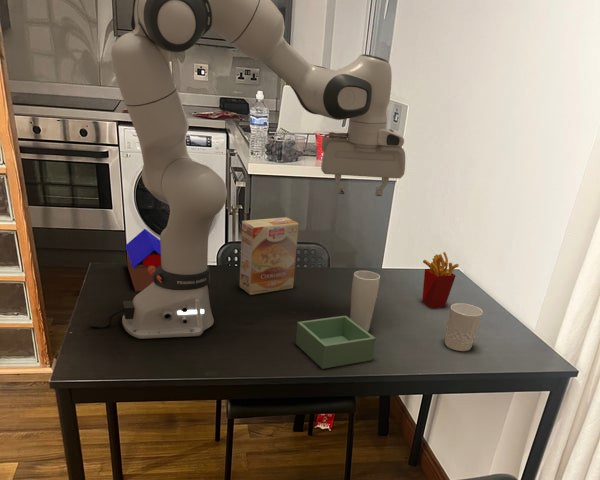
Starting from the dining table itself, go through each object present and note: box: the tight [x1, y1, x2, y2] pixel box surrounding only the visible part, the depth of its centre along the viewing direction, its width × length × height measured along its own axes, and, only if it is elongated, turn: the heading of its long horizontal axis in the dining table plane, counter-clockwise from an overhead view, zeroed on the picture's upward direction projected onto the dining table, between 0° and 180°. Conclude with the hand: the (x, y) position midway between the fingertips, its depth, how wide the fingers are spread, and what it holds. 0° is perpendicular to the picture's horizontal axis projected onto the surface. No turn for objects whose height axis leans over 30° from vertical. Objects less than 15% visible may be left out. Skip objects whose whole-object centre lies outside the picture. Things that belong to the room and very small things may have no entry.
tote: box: [295, 315, 377, 370], centre depth 143 cm, size 14×14×6 cm
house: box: [124, 228, 161, 292], centre depth 173 cm, size 12×20×12 cm, turn 19°
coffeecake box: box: [239, 216, 300, 296], centre depth 172 cm, size 15×7×20 cm, turn 123°
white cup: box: [444, 302, 484, 352], centre depth 151 cm, size 8×8×10 cm
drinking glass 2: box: [349, 270, 381, 333], centre depth 153 cm, size 7×7×15 cm
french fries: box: [421, 251, 460, 309], centre depth 173 cm, size 9×8×15 cm
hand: (359, 194), depth 149 cm, fingers open, 8 cm apart
